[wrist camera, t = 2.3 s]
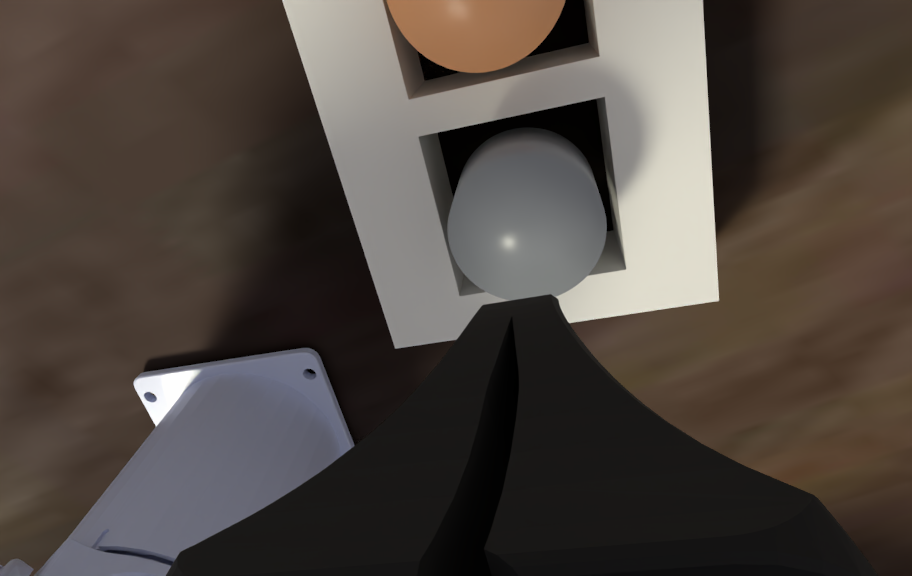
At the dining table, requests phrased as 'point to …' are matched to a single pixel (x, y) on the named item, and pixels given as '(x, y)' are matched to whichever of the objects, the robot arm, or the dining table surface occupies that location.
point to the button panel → (506, 95)
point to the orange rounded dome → (475, 30)
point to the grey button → (526, 215)
